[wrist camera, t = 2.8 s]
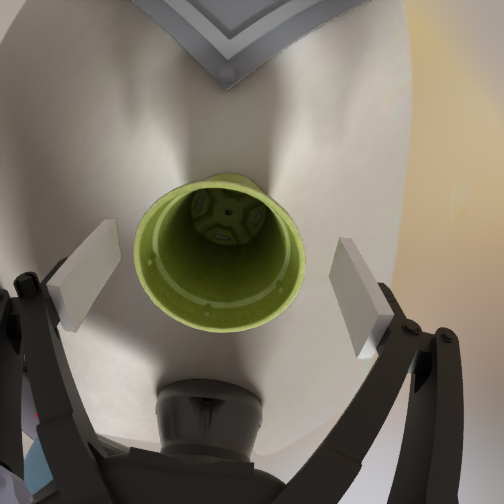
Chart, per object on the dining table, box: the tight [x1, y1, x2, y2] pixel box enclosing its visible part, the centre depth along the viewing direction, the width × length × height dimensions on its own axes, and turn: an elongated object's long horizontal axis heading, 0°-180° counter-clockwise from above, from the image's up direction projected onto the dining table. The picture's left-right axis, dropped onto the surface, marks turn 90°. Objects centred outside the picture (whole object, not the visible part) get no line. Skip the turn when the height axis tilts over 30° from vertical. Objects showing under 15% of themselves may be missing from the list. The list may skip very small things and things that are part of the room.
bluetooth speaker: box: [21, 370, 39, 440], centre depth 34 cm, size 23×9×10 cm, turn 179°
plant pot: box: [133, 173, 306, 333], centre depth 19 cm, size 9×9×9 cm
